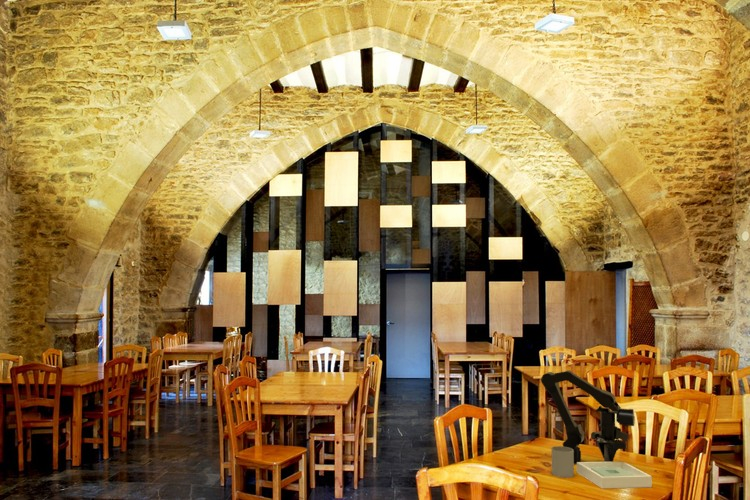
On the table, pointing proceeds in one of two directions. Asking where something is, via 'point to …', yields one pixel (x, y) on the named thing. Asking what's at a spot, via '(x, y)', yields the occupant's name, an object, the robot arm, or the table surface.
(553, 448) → the cup
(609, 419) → the robot arm
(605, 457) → the peg
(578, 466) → the tray
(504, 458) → the table surface
